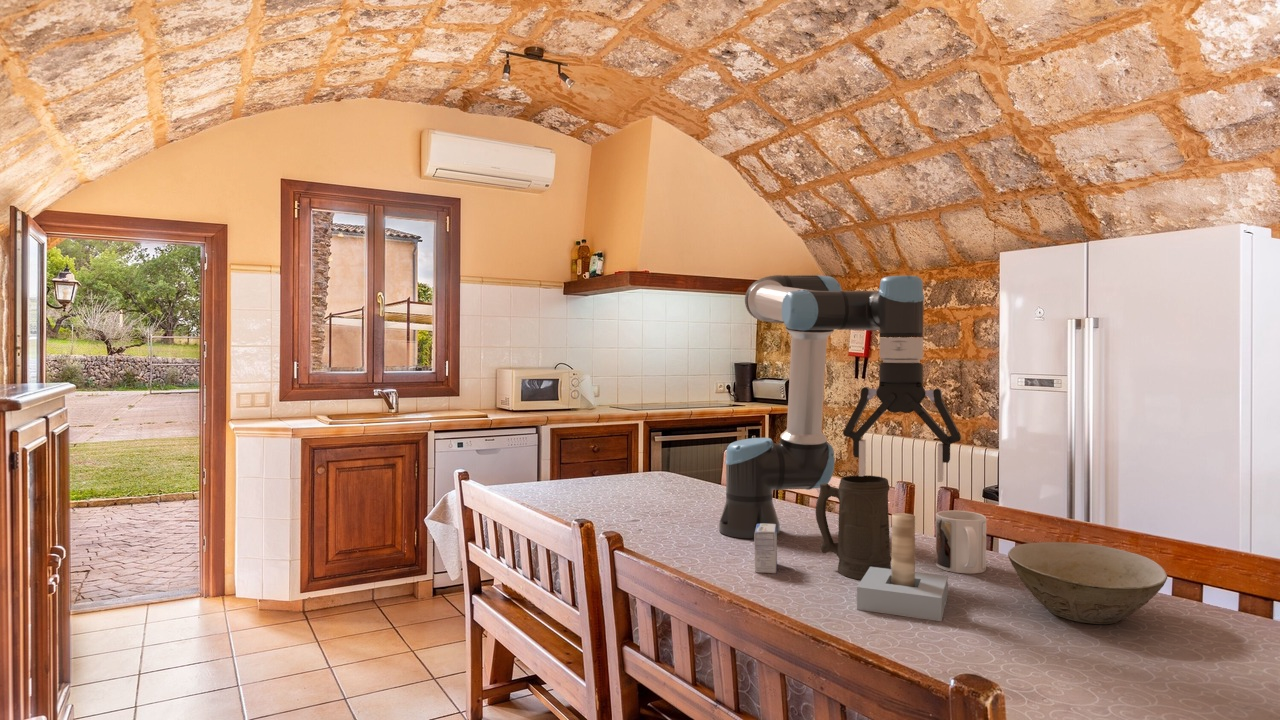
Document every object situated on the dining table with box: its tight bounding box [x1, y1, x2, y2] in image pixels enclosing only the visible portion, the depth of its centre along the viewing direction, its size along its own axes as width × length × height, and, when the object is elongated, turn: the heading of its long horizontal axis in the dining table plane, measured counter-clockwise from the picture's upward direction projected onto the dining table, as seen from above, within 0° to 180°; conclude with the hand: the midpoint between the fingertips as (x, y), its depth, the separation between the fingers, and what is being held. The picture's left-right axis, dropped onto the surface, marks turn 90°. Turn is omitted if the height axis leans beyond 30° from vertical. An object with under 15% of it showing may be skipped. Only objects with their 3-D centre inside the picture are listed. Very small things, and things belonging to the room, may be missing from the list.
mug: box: [935, 509, 987, 575], centre depth 161 cm, size 10×12×11 cm
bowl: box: [1007, 541, 1168, 625], centre depth 133 cm, size 24×24×10 cm
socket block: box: [856, 567, 949, 622], centre depth 139 cm, size 14×14×4 cm
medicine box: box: [753, 524, 778, 574], centre depth 162 cm, size 8×4×9 cm, turn 169°
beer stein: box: [815, 474, 892, 581], centre depth 159 cm, size 15×11×20 cm
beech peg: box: [891, 512, 916, 587], centre depth 139 cm, size 4×4×16 cm
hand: (900, 478), depth 140 cm, fingers open, 13 cm apart
